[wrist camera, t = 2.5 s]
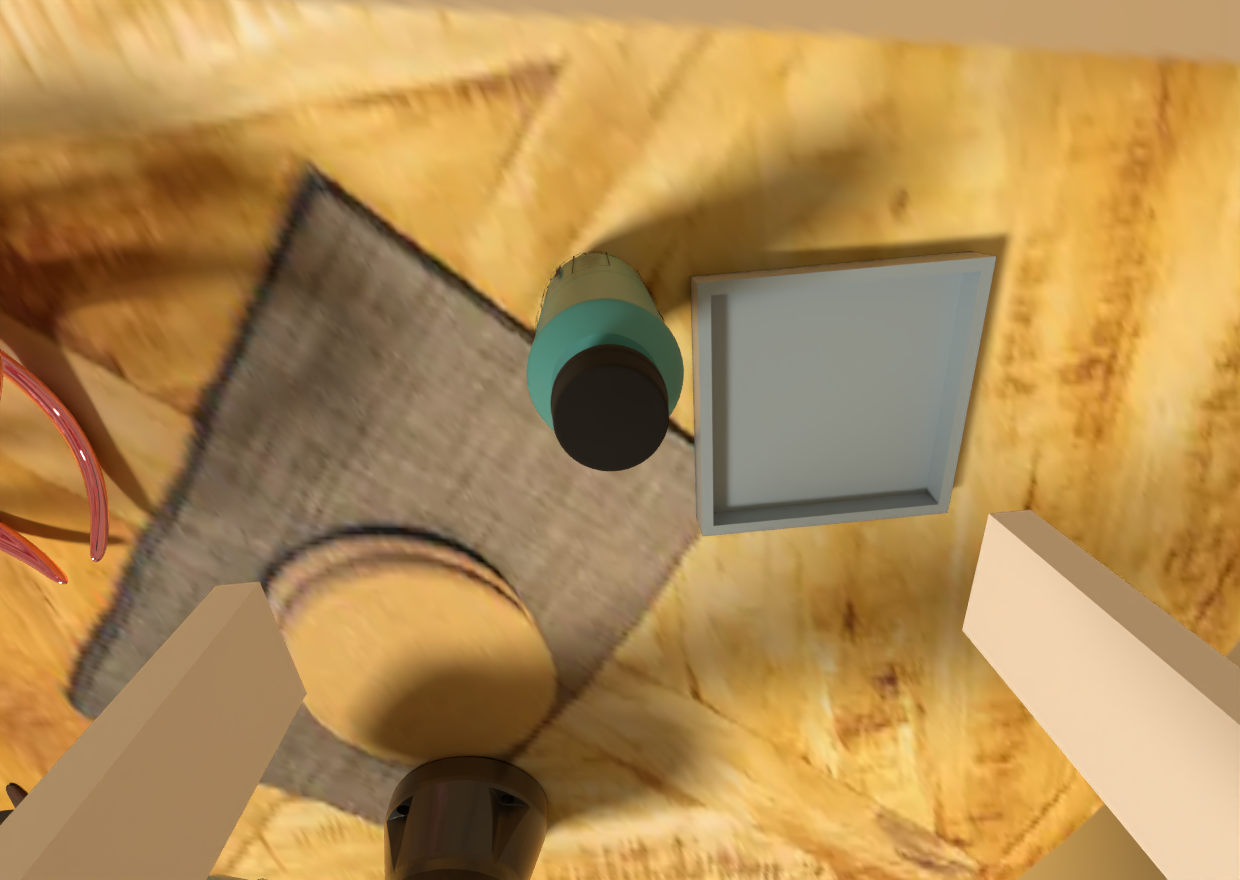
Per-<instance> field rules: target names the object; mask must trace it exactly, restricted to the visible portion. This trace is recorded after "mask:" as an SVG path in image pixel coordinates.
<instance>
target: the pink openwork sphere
mask: <svg viewBox="0 0 1240 880" xmlns="http://www.w3.org/2000/svg"><path fill="white" fill-rule="evenodd" d="M3 377H5V378H6V379H7V380H9V381H10V382H11V383H13V384H14V385H15V386H16V387H17V388H19V389H20V390H21V391H22V392H23V393H24V394H25V395H26V396H28V397H29V398H30V399H31V400H32V401H33V402H34V403H35V404H36V405H37V406H38V407H39V408H40V409H41V410H42V412H43V413H44V414H45V415H46V416H47V417H48V418H49V420H50V421H51V422H52V423H53V425H54V426H55V427H56V429H57V430H58V431H59V433H60V434H61V436H62V437H63V439H64V440H65V442H66V443H67V445H68V447H69V448H70V450H71V452H72V454H73V456H74V458H75V460H76V462H77V464H78V467H79V469H80V472H81V474H82V477H83V480H84V484H85V487H86V491H87V496H88V501H89V508H90V522H91V530H90V555H91V558H92V560H93V561H94V562H98V561H100V560H101V559H102V557H103V556H104V553H105V551H106V547H107V541H108V533H109V505H108V497H107V490H106V485H105V481H104V477H103V474H102V470H101V467H100V464H99V462H98V459H97V457H96V454H95V452H94V450H93V448H92V446H91V444H90V442H89V440H88V438H87V436H86V435H85V433H84V431H83V430H82V428H81V427H80V425H79V424H78V422H77V421H76V419H75V418H74V417H73V415H72V414H71V413H70V411H69V410H68V409H67V408H66V406H65V405H64V404H63V403H62V402H61V401H60V399H59V398H58V397H57V396H56V395H55V394H54V393H53V392H52V391H51V390H50V389H49V388H48V387H47V386H46V385H45V384H44V383H43V382H42V381H40V380H39V379H38V378H37V377H36V376H35V375H34V374H32V373H31V372H30V371H29V370H28V369H26V368H25V367H24V366H22V365H21V364H20V363H19V362H17V361H16V360H15V359H13V358H12V357H11V356H9V355H8V354H7V353H5V352H4V351H2V350H1V349H0V399H1V393H2V386H3ZM0 551H3V552H5V553H7V554H9V555H11V556H13V557H15V558H16V559H18V560H20V561H22V562H24V563H26V564H27V565H29V566H31V567H32V568H34V569H36V570H37V571H39V572H40V573H42V574H43V575H45V576H46V577H48V578H49V579H51V580H53V581H54V582H57V583H59V584H67V583H68V578H67V576H66V574H65V573H64V572H63V571H62V569H61V568H60V567H59V566H58V565H57V564H56V563H55V562H54V561H53V560H52V559H51V558H50V557H49V556H47V555H46V554H45V553H44V552H43V551H42V550H40V549H39V548H38V547H37V546H36V545H34V544H33V543H32V542H30V541H29V540H28V539H26V538H25V537H24V536H22V535H21V534H19V533H18V532H16V531H15V530H13V529H12V528H10V527H9V526H7V525H5V524H4V523H2V522H1V521H0Z"/></svg>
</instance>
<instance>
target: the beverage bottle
mask: <svg viewBox="0 0 1240 880" xmlns="http://www.w3.org/2000/svg"><path fill="white" fill-rule="evenodd" d="M590 252H592V251H590ZM590 252H589V253H590ZM601 252H602V251H601ZM580 254H581V253H580ZM584 254H585V252H584ZM564 263H565V261H564ZM558 267H559V268H557V270H555V271H556V274H555V275H554V276H553V278H552V280H551V279H550V281H551V282H550V284H549V285H548V286H547V288H548V290H547V293H546V292H545V293H546V297H545V296H544V297H545V300H544V299H543V300H544V301H543V300H542V301H543V302H544V304H543V308H542V310H541V315H540V318H539V322H538V317H537V316H536V317H537V323H538V325H537V328H536V329H537V330H536V334H535V340H534V342H533V344H532V345H531V346H532V347H531V350H530V353H529V357H528V363H527V385H528V389H529V394H530V397H531V399H532V402H533V404H534V406H535V408H536V410H537V412H538V413H539V415H540V416H541V417H542V419H543V420H544V421H545V422H546V423H547V425H548V426H549V427H551V428H552V429H553V430H554V431H555V434H556V437H557V439H558V441H559V443H560V445H561V446H562V447H563V449H564V450H565V451H566V452H567V453H568V454H569V456H571V457H572V458H573V459H574V460H576V461H577V462H579V463H580V464H582V465H584V466H587V467H589V468H592V469H596V470H601V471H620V470H625V469H629V468H632V467H634V466H636V465H638V464H640V463H642V462H643V461H645V460H646V459H648V458H649V457H650V456H651V455H652V454H653V453H654V452H655V451H656V450H657V448H658V447H659V446H660V444H661V442H662V441H663V439H664V437H665V434H666V432H667V428H668V424H669V416H670V415H671V413H672V412H673V410H674V408H675V406H676V404H677V402H678V399H679V397H680V394H681V390H682V385H683V375H684V368H683V360H682V356H681V352H680V349H679V347H678V344H677V342H676V339H675V338H674V336H673V334H672V333H671V331H670V330H669V328H668V327H667V326H666V325H665V323H664V322H663V321H664V320H662V319H664V318H661V317H662V316H661V315H660V313H658V312H659V311H658V310H657V308H656V306H655V303H654V302H653V301H654V299H653V300H652V298H651V296H650V295H651V294H652V292H650V293H651V294H650V295H649V293H648V291H649V290H648V291H647V289H646V288H645V286H644V284H645V283H646V282H645V283H644V284H643V283H642V281H643V280H642V281H641V279H642V278H641V279H640V277H641V276H640V277H639V276H638V274H637V273H636V272H635V271H634V270H633V269H632V268H631V267H630V266H629V265H628V264H626V263H625V262H624V261H622V260H620V259H618V258H616V257H614V256H610V255H608V254H607V252H606V254H602V253H600V254H597V253H596V254H595V253H593V254H592V253H591V254H587V253H586V254H585V255H583V254H582V256H579V257H576V258H574V256H573V259H572V260H570V261H569V262H567V263H566V264H564V265H563V266H562V267H561V265H559V266H558ZM554 273H555V272H554ZM638 273H639V272H638ZM639 275H640V274H639ZM551 276H552V275H551ZM548 281H549V280H548ZM644 281H645V280H644ZM545 288H546V287H545ZM647 288H648V287H647ZM648 289H649V288H648ZM544 291H545V290H544ZM543 295H545V294H544V293H543ZM653 296H654V295H653ZM540 304H541V303H540ZM541 307H542V304H541ZM537 314H538V313H537ZM535 323H536V322H535Z"/></svg>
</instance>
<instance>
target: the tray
mask: <svg viewBox="0 0 1240 880" xmlns="http://www.w3.org/2000/svg"><path fill="white" fill-rule="evenodd" d="M995 262H996V256H992V255H987V254H982V253H976V252H971V251H970V252H959V253H948V254H937V255H925V256H914V257H903V258H891V259H880V260H869V261H858V262H846V263H835V264H824V265H812V266H801V267H790V268H779V269H767V270H756V271H745V272H733V273H722V274H711V275H700V276H690V280H691V320H692V359H693V399H694V438H695V477H696V517H697V521H698V524H699V527H700V530H701V533H702V536H712V535H722V534H733V533H743V532H753V531H764V530H774V529H785V528H795V527H805V526H816V525H826V524H837V523H847V522H857V521H868V520H878V519H889V518H899V517H909V516H920V515H930V514H940V513H948V509H949V504H950V499H951V493H952V488H953V483H954V478H955V472H956V467H957V462H958V456H959V451H960V446H961V441H962V435H963V430H964V425H965V420H966V414H967V409H968V404H969V399H970V393H971V388H972V383H973V377H974V372H975V367H976V362H977V356H978V351H979V346H980V341H981V335H982V330H983V325H984V320H985V314H986V309H987V304H988V298H989V293H990V288H991V283H992V277H993V272H994V267H995Z"/></svg>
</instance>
